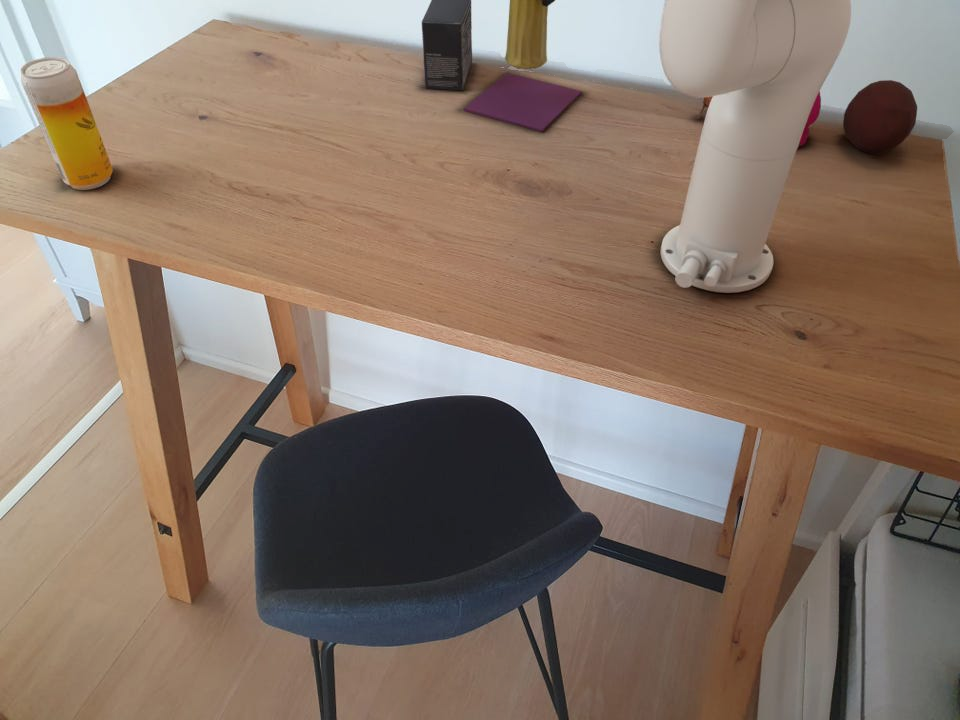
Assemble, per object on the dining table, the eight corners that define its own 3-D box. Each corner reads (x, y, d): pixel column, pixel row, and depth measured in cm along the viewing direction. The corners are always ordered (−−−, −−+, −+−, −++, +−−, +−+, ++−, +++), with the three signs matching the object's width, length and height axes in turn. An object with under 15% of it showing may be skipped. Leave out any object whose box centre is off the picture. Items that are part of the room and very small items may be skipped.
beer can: (123, 179, 100) (82, 66, 89) (78, 197, 97) (30, 83, 86) (100, 162, 103) (58, 51, 92) (56, 179, 99) (7, 66, 89)
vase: (551, 55, 113) (559, -50, 103) (540, 72, 109) (547, -36, 99) (512, 49, 115) (516, -55, 104) (499, 65, 110) (502, -41, 100)
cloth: (542, 132, 110) (542, 129, 109) (463, 110, 114) (463, 108, 114) (581, 93, 118) (581, 91, 118) (507, 75, 123) (507, 72, 123)
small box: (434, 60, 127) (431, -7, 119) (473, 62, 126) (473, -4, 119) (422, 88, 119) (419, 19, 112) (464, 91, 119) (463, 22, 111)
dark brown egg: (893, 131, 111) (920, 69, 104) (906, 174, 103) (936, 109, 96) (831, 124, 112) (853, 61, 106) (838, 165, 104) (863, 100, 97)
